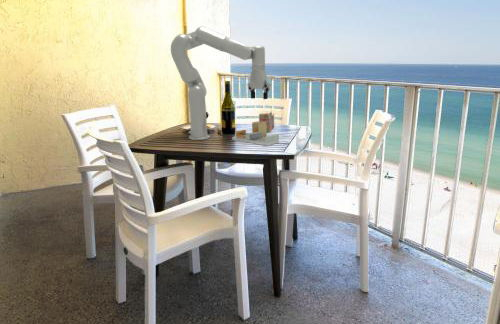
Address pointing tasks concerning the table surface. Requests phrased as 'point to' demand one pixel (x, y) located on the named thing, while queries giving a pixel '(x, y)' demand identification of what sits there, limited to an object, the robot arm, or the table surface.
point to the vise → (259, 140)
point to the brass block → (259, 127)
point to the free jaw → (249, 134)
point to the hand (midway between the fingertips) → (259, 98)
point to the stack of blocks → (267, 120)
